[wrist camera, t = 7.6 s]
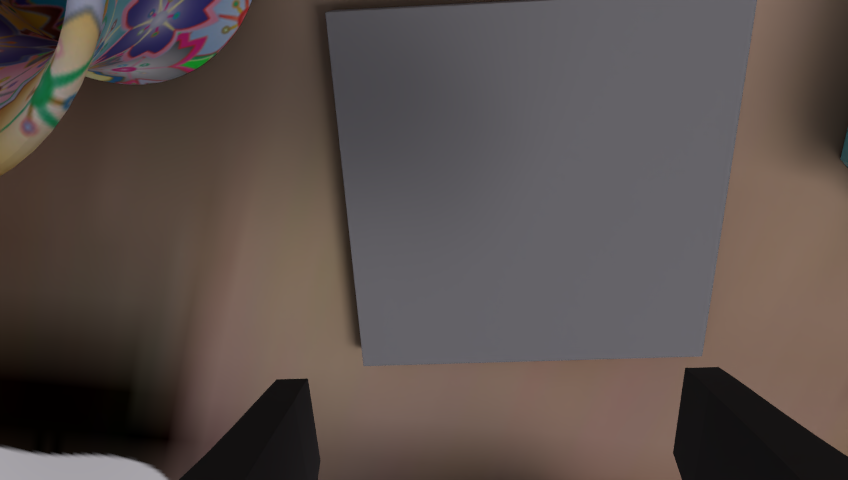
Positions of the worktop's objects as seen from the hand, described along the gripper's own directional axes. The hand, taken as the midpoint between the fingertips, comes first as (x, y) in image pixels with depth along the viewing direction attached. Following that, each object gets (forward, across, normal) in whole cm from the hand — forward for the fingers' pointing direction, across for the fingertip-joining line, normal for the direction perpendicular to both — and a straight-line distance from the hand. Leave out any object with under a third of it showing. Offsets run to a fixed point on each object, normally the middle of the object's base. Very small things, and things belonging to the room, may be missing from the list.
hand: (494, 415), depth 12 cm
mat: (+10, -2, -1) cm, 10 cm away
